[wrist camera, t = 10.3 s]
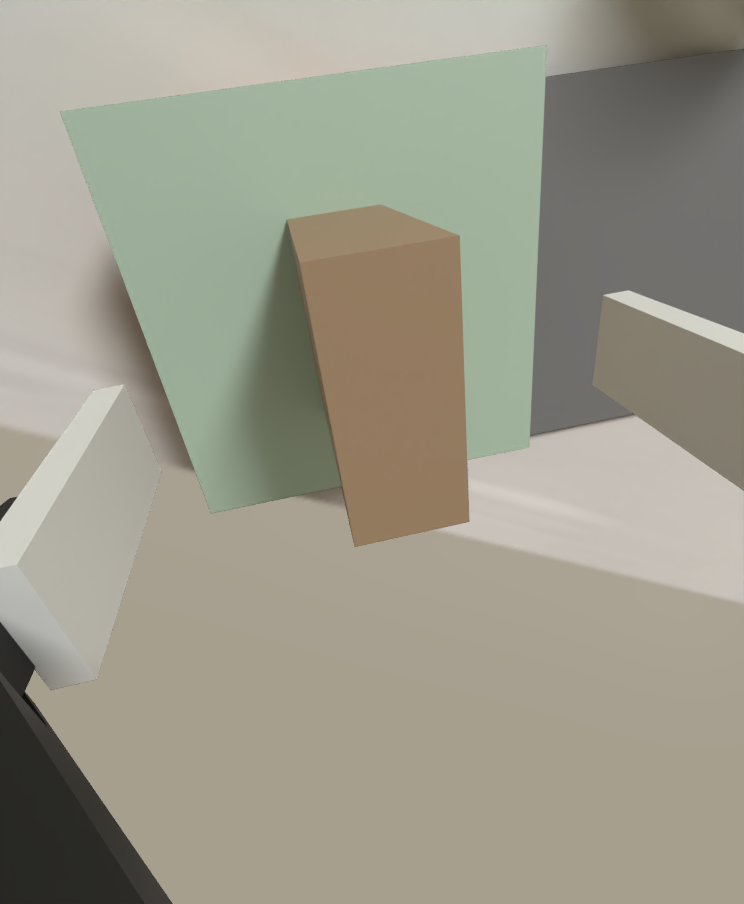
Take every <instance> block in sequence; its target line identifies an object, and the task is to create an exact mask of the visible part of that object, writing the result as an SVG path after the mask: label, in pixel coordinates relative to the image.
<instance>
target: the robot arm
mask: <svg viewBox="0 0 744 904" xmlns="http://www.w3.org/2000/svg"><path fill="white" fill-rule="evenodd" d="M592 385H593V386H595V387H596V388H598V389H599V390H601V391H602V392H603V393H605V394H606V395H608V396H609V397H611V398H612V399H613V400H615V401H616V402H618V403H619V404H621V405H622V406H623V407H625V408H626V409H628V410H629V411H631V412H632V413H633V414H635V415H636V416H638V417H639V418H641V419H642V420H643V421H645V422H646V423H648V424H649V425H651V426H652V427H653V428H655V429H656V430H658V431H659V432H661V433H662V434H663V435H665V436H666V437H668V438H669V439H671V440H672V441H673V442H675V443H676V444H678V445H679V446H681V447H682V448H683V449H685V450H686V451H688V452H689V453H690V454H692V455H693V456H695V457H696V458H698V459H699V460H700V461H702V462H703V463H705V464H706V465H708V466H709V467H710V468H712V469H713V470H715V471H716V472H718V473H719V474H720V475H722V476H723V477H725V478H726V479H728V480H729V481H730V482H732V483H733V484H735V485H736V486H738V487H739V488H740V489H742V490H743V491H744V333H741V332H739V331H736V330H733V329H731V328H728V327H725V326H723V325H720V324H717V323H715V322H712V321H709V320H707V319H704V318H701V317H698V316H696V315H693V314H690V313H688V312H685V311H682V310H680V309H677V308H674V307H672V306H669V305H666V304H664V303H661V302H658V301H656V300H653V299H650V298H648V297H645V296H642V295H640V294H637V293H634V292H632V291H629V290H628V291H622V292H617V293H611V294H606V295H603V300H602V308H601V317H600V325H599V334H598V342H597V350H596V359H595V367H594V376H593V384H592ZM161 474H162V471H161V469H160V467H159V464H158V462H157V460H156V457H155V455H154V453H153V450H152V448H151V445H150V443H149V441H148V438H147V436H146V434H145V431H144V429H143V427H142V424H141V422H140V419H139V417H138V415H137V412H136V410H135V408H134V405H133V403H132V401H131V398H130V396H129V394H128V391H127V389H126V386H125V384H124V385H118V386H113V387H108V388H102V389H97V390H94V391H93V392H92V393H91V395H90V396H89V398H88V399H87V400H86V402H85V403H84V405H83V406H82V407H81V409H80V410H79V412H78V413H77V414H76V416H75V417H74V419H73V420H72V421H71V423H70V424H69V426H68V427H67V428H66V430H65V431H64V433H63V434H62V435H61V437H60V438H59V440H58V441H57V442H56V444H55V445H54V447H53V448H52V449H51V451H50V452H49V454H48V455H47V456H46V458H45V459H44V461H43V462H42V463H41V465H40V466H39V468H38V469H37V471H36V472H35V473H34V475H33V476H32V477H31V479H30V481H29V482H28V483H27V485H26V486H25V487H24V489H23V490H22V492H21V493H20V494H19V496H18V497H14V498H10V499H8V500H7V501H6V502H5V503H3V504H2V505H1V506H0V904H172V902H171V901H170V899H169V898H168V897H167V895H166V894H165V892H164V891H163V889H162V888H161V886H160V885H159V883H158V882H157V880H156V879H155V878H154V876H153V875H152V873H151V872H150V870H149V869H148V867H147V866H146V864H145V863H144V862H143V860H142V859H141V857H140V856H139V854H138V853H137V851H136V850H135V848H134V847H133V846H132V844H131V843H130V841H129V840H128V838H127V837H126V836H125V834H124V833H123V831H122V830H121V828H120V827H119V825H118V824H117V822H116V821H115V819H114V818H113V817H112V815H111V814H110V812H109V811H108V809H107V808H106V806H105V805H104V804H103V802H102V801H101V799H100V798H99V796H98V795H97V793H96V792H95V790H94V789H93V788H92V786H91V785H90V783H89V782H88V780H87V779H86V777H85V776H84V774H83V773H82V772H81V770H80V769H79V767H78V766H77V764H76V763H75V761H74V760H73V758H72V757H71V756H70V754H69V753H68V751H67V750H66V748H65V747H64V745H63V744H62V743H61V741H60V740H59V738H58V737H57V735H56V734H55V733H54V731H53V729H52V728H51V727H50V725H49V724H48V722H47V721H46V719H45V718H44V716H43V715H42V713H41V712H40V711H39V709H38V708H37V706H36V705H35V703H34V702H33V701H32V700H31V698H30V697H29V696H28V695H27V694H26V693H25V690H26V687H27V685H28V683H29V681H30V678H31V676H32V674H33V671H34V670H35V671H36V672H37V673H38V675H39V676H40V677H41V678H42V680H43V681H44V682H45V683H46V685H47V686H48V687H49V688H50V690H55V689H59V688H63V687H67V686H71V685H76V684H80V683H84V682H88V681H92V680H96V679H97V677H98V674H99V671H100V668H101V665H102V661H103V658H104V655H105V652H106V648H107V645H108V642H109V639H110V636H111V633H112V630H113V626H114V623H115V620H116V617H117V614H118V610H119V607H120V604H121V601H122V598H123V595H124V592H125V588H126V585H127V582H128V579H129V576H130V572H131V569H132V566H133V563H134V560H135V557H136V553H137V550H138V547H139V544H140V541H141V538H142V534H143V531H144V528H145V525H146V521H147V519H148V515H149V512H150V509H151V506H152V503H153V499H154V496H155V493H156V490H157V487H158V484H159V480H160V477H161Z"/></svg>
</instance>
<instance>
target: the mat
mask: <svg viewBox="0 0 744 904" xmlns="http://www.w3.org/2000/svg"><path fill="white" fill-rule="evenodd" d="M628 290H629V291H632V292H634V293H637V294H640V295H642V296H645V297H648V298H650V299H653V300H656V301H658V302H661V303H664V304H666V305H669V306H672V307H674V308H677V309H680V310H682V311H685V312H688V313H690V314H693V315H696V316H698V317H701V318H704V319H707V320H709V321H712V322H715V323H717V324H720V325H723V326H725V327H728V328H731V329H733V330H736V331H739V332H741V333H744V49H738V50H731V51H724V52H717V53H710V54H703V55H696V56H689V57H682V58H675V59H668V60H661V61H654V62H647V63H640V64H633V65H626V66H619V67H612V68H605V69H598V70H591V71H584V72H577V73H570V74H563V75H556V76H549V77H546V78H545V101H544V124H543V147H542V170H541V193H540V216H539V239H538V262H537V284H536V307H535V330H534V353H533V376H532V399H531V422H530V435H533V434H538V433H543V432H548V431H553V430H558V429H562V428H567V427H572V426H577V425H582V424H587V423H592V422H596V421H601V420H606V419H611V418H616V417H621V416H625V415H630V414H633V413H632V412H631V411H629V410H628V409H626V408H625V407H623V406H622V405H621V404H619V403H618V402H616V401H615V400H613V399H612V398H611V397H609V396H608V395H606V394H605V393H603V392H602V391H601V390H599V389H598V388H596V387H595V386H593V385H592V384H593V376H594V367H595V359H596V350H597V342H598V334H599V325H600V317H601V308H602V300H603V295H606V294H611V293H617V292H622V291H628Z"/></svg>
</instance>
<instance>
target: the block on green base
mask: <svg viewBox="0 0 744 904" xmlns="http://www.w3.org/2000/svg"><path fill="white" fill-rule="evenodd" d="M546 55H547V45H544V46H536V47H529V48H522V49H514V50H507V51H500V52H492V53H485V54H478V55H470V56H463V57H456V58H448V59H441V60H434V61H426V62H419V63H412V64H404V65H397V66H390V67H382V68H375V69H368V70H360V71H353V72H346V73H338V74H331V75H324V76H317V77H309V78H302V79H295V80H287V81H280V82H273V83H265V84H258V85H251V86H243V87H236V88H229V89H221V90H214V91H207V92H199V93H192V94H185V95H177V96H170V97H163V98H155V99H148V100H141V101H133V102H126V103H119V104H111V105H104V106H97V107H89V108H82V109H75V110H67V111H60V114H61V116H62V119H63V122H64V124H65V127H66V129H67V132H68V135H69V137H70V140H71V143H72V145H73V148H74V151H75V153H76V156H77V159H78V161H79V164H80V167H81V169H82V172H83V175H84V177H85V180H86V183H87V185H88V188H89V191H90V193H91V196H92V199H93V201H94V204H95V207H96V209H97V212H98V215H99V217H100V220H101V223H102V225H103V228H104V230H105V233H106V236H107V238H108V241H109V244H110V246H111V249H112V252H113V254H114V257H115V260H116V262H117V265H118V268H119V270H120V273H121V276H122V278H123V281H124V284H125V286H126V289H127V292H128V294H129V297H130V300H131V302H132V305H133V308H134V310H135V313H136V316H137V318H138V321H139V324H140V326H141V329H142V331H143V334H144V337H145V339H146V342H147V345H148V347H149V350H150V353H151V355H152V358H153V361H154V363H155V366H156V369H157V371H158V374H159V377H160V379H161V382H162V385H163V387H164V390H165V393H166V395H167V398H168V401H169V403H170V406H171V409H172V411H173V414H174V417H175V419H176V422H177V425H178V427H179V430H180V433H181V435H182V438H183V440H184V443H185V446H186V448H187V451H188V454H189V456H190V459H191V462H192V464H193V467H194V470H195V472H196V475H197V478H198V480H199V483H200V486H201V488H202V491H203V494H204V496H205V499H206V502H207V504H208V507H209V510H210V512H211V513H216V512H221V511H226V510H231V509H235V508H240V507H245V506H250V505H254V504H259V503H264V502H269V501H274V500H279V499H283V498H288V497H293V496H298V495H303V494H307V493H312V492H317V491H322V490H327V489H331V488H336V487H341V488H342V492H343V497H344V501H345V506H346V510H347V515H348V519H349V524H350V528H351V532H352V537H353V542H354V546H355V547H357V546H361V545H366V544H370V543H375V542H380V541H384V540H388V539H393V538H398V537H402V536H407V535H411V534H416V533H420V532H425V531H429V530H434V529H439V528H443V527H448V526H452V525H457V524H462V523H466V522H469V499H468V468H467V460H471V459H475V458H480V457H485V456H490V455H495V454H499V453H504V452H509V451H514V450H519V449H523V448H528V447H529V445H530V422H531V399H532V376H533V353H534V330H535V307H536V284H537V262H538V239H539V216H540V193H541V170H542V147H543V124H544V101H545V78H546Z"/></svg>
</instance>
